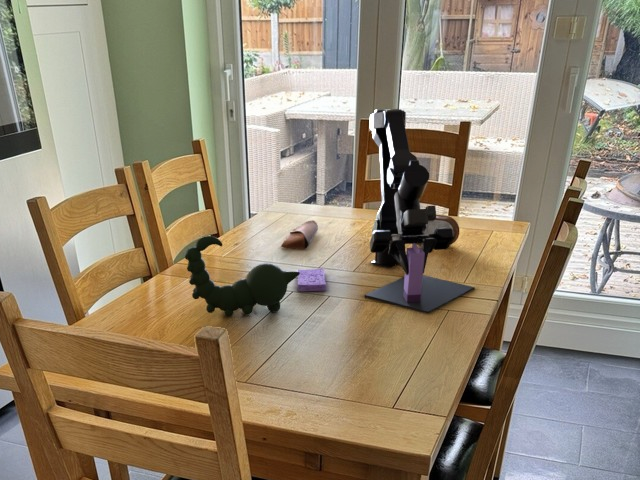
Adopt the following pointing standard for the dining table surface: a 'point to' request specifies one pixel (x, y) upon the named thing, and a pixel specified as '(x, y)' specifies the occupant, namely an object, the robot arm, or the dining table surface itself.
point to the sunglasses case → (301, 236)
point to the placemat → (422, 294)
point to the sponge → (311, 280)
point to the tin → (442, 225)
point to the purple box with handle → (414, 274)
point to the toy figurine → (237, 284)
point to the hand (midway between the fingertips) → (415, 273)
